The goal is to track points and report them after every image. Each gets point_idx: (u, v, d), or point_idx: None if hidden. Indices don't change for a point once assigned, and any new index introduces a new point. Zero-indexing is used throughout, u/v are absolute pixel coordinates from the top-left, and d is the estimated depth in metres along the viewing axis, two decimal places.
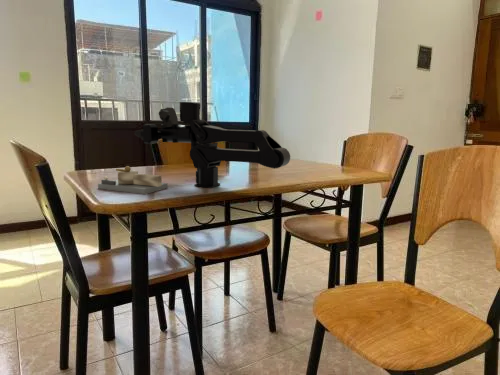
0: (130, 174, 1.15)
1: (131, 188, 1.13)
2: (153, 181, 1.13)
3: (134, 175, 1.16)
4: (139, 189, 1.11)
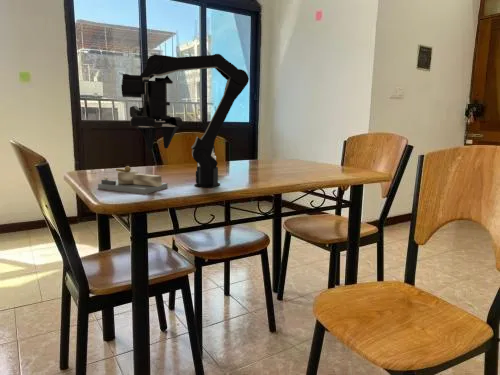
0: (130, 174, 1.15)
1: (131, 188, 1.13)
2: (153, 181, 1.13)
3: (134, 175, 1.16)
4: (139, 189, 1.11)
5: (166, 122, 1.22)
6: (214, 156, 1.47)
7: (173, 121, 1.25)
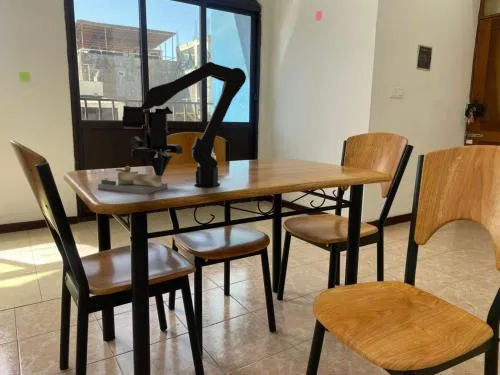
0: (130, 174, 1.15)
1: (131, 188, 1.13)
2: (153, 181, 1.13)
3: (134, 175, 1.16)
4: (139, 189, 1.11)
5: (166, 151, 1.24)
6: (214, 156, 1.47)
7: (167, 150, 1.24)
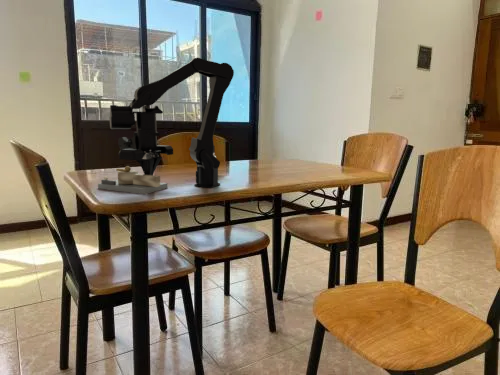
0: (129, 174, 1.15)
1: (131, 188, 1.13)
2: (151, 181, 1.13)
3: (133, 175, 1.16)
4: (139, 189, 1.11)
5: (156, 152, 1.19)
6: None
7: (156, 151, 1.19)
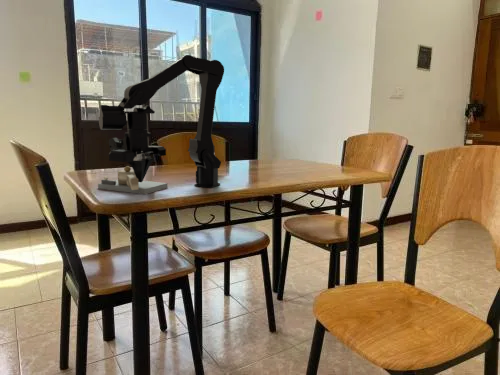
0: (123, 174, 1.15)
1: None
2: (130, 183, 1.09)
3: (126, 176, 1.15)
4: (139, 189, 1.11)
5: (148, 153, 1.16)
6: None
7: (148, 152, 1.15)
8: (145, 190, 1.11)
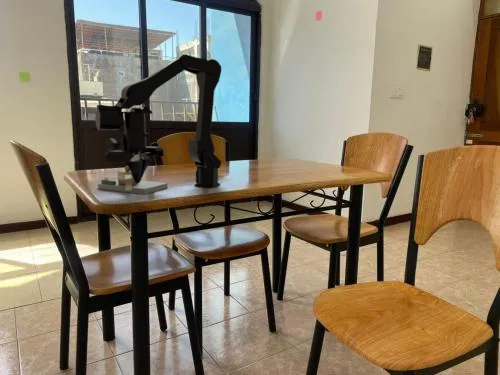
0: (122, 174, 1.15)
1: None
2: None
3: (125, 176, 1.15)
4: (139, 189, 1.11)
5: (146, 153, 1.14)
6: None
7: (146, 152, 1.14)
8: (145, 190, 1.11)
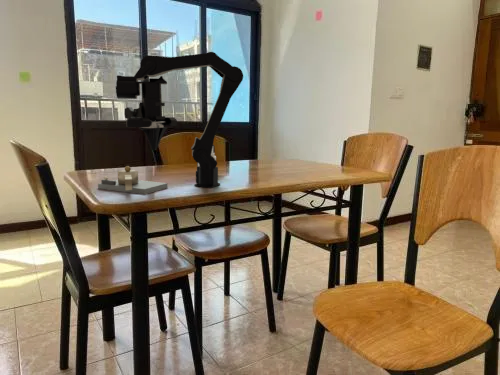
0: (122, 174, 1.15)
1: None
2: None
3: (124, 176, 1.15)
4: (139, 189, 1.11)
5: (161, 123, 1.22)
6: (214, 156, 1.47)
7: None
8: (145, 190, 1.11)
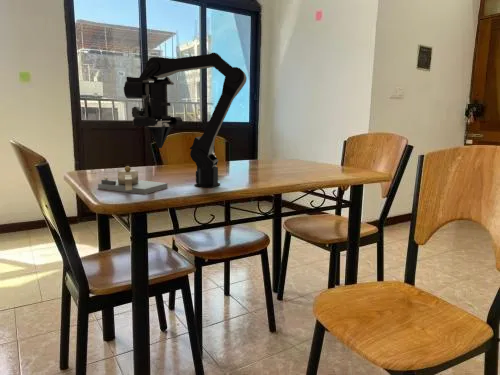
0: (122, 174, 1.15)
1: None
2: None
3: (124, 176, 1.15)
4: (139, 189, 1.11)
5: (167, 122, 1.27)
6: None
7: (167, 121, 1.26)
8: (145, 190, 1.11)
